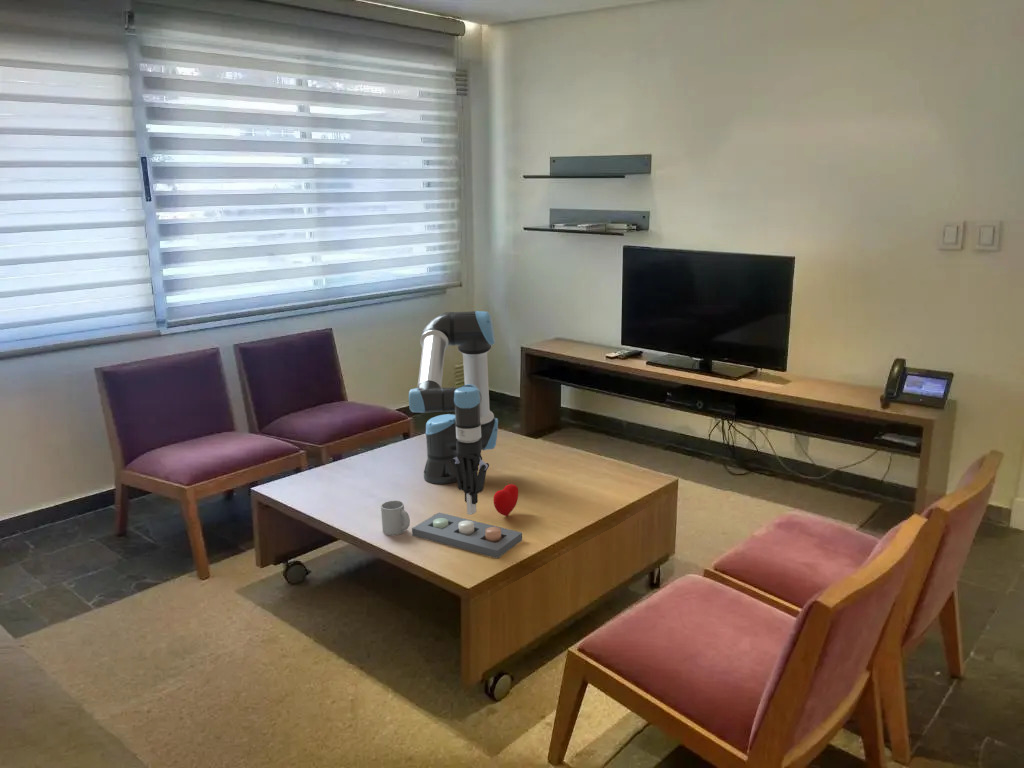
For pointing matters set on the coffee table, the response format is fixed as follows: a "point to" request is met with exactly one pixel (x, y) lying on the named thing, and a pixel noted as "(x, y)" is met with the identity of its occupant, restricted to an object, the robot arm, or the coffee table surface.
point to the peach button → (493, 534)
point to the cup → (394, 518)
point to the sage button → (440, 523)
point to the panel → (470, 543)
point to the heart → (506, 499)
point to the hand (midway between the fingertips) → (471, 512)
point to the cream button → (466, 527)
